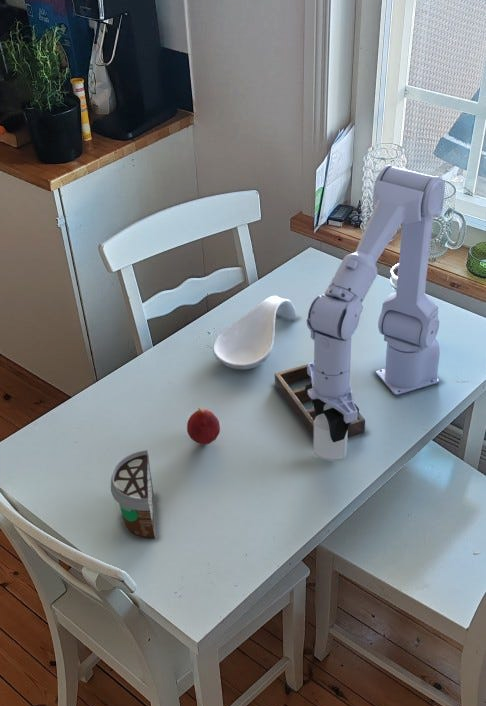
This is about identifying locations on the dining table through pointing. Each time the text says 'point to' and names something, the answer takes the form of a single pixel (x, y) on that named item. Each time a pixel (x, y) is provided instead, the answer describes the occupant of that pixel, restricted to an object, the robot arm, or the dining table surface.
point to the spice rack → (302, 396)
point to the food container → (135, 494)
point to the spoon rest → (252, 335)
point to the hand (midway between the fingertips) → (330, 429)
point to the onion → (203, 426)
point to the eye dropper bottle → (327, 440)
